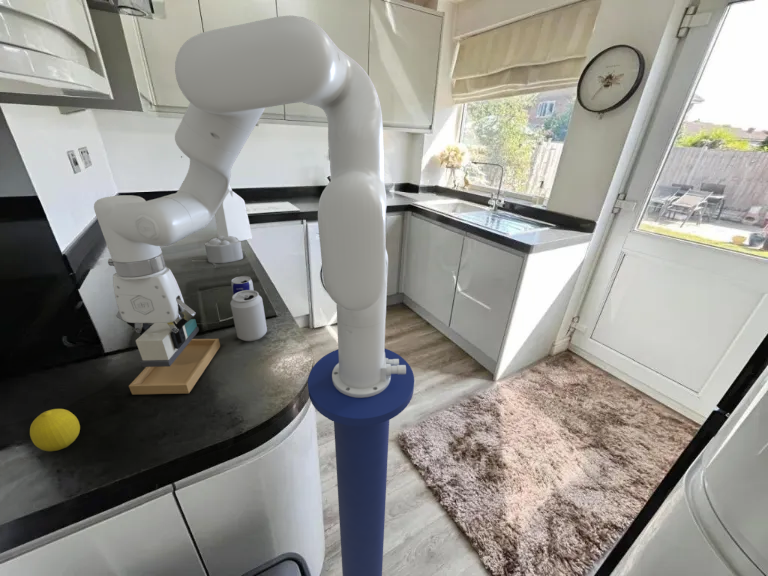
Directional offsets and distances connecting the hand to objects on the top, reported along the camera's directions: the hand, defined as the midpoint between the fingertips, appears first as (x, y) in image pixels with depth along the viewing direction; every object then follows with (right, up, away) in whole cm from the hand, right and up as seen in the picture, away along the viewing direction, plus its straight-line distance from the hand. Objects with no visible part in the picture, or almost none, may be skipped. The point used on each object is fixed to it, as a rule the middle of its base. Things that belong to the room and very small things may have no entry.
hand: (166, 344), depth 68 cm
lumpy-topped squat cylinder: (-21, +24, +67) cm, 74 cm away
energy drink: (+6, +3, +26) cm, 27 cm away
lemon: (-8, -15, -13) cm, 22 cm away
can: (+11, -1, +18) cm, 21 cm away
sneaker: (0, -1, +2) cm, 3 cm away
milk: (-28, +37, +92) cm, 103 cm away
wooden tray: (0, -6, +5) cm, 8 cm away
